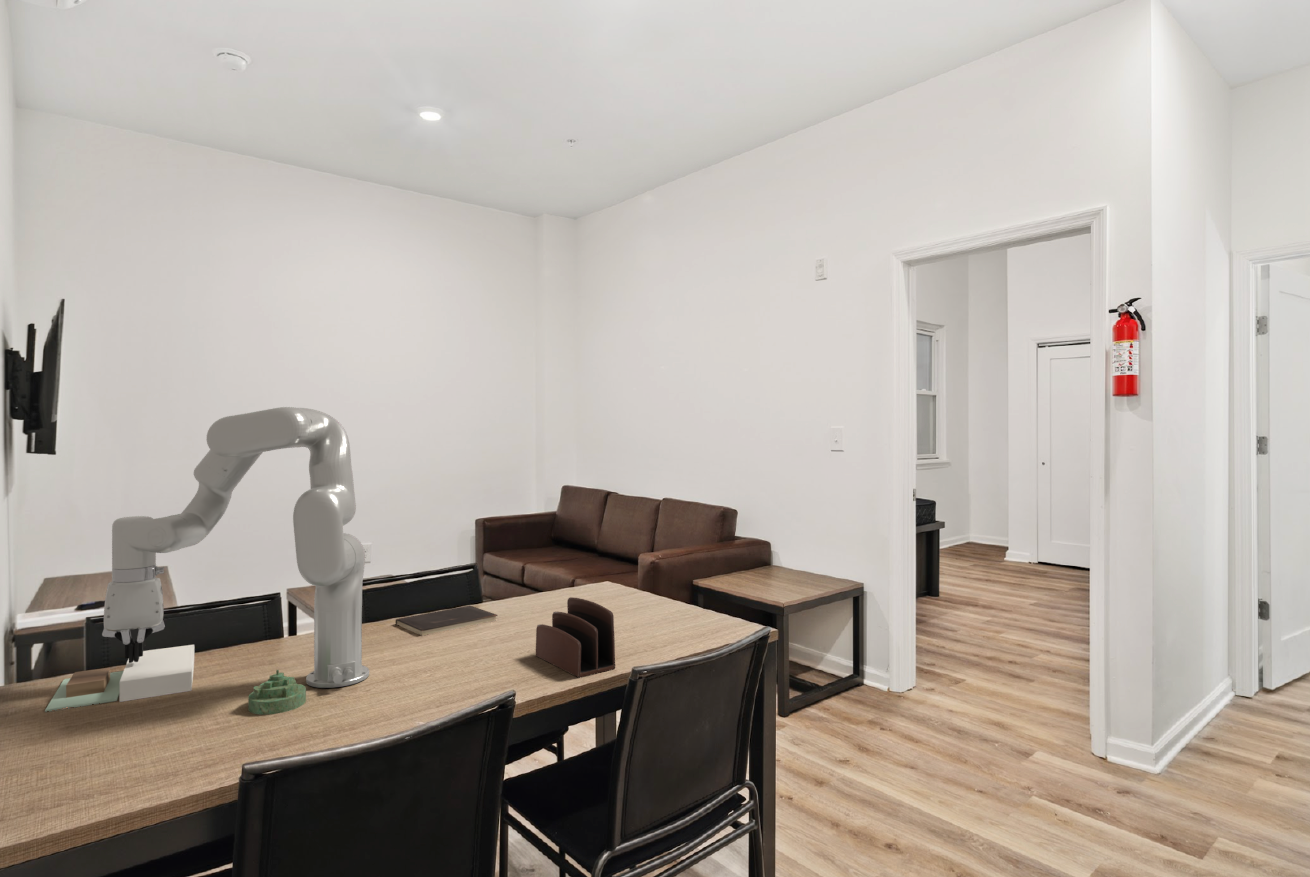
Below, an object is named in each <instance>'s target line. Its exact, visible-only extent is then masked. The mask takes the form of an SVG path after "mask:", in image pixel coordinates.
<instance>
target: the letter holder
mask: <svg viewBox="0 0 1310 877" xmlns="http://www.w3.org/2000/svg"><path fill="white" fill-rule="evenodd" d="M566 603H567V608H566V609H567V612H563V611H553V613H552V615H551V617H552V618H551V623H552V624H551V625H547V624H543V623H542V624H537V626H536V627H535V628H536V629H535V634H536V635H535V656H536V657H538V658H540V659H541V660H543V661H545V662H547V663H549V664H551V665H553V666H555V667H557V668H559V669H561V670H563V671H565V672H567V673H569V674H571V675H573V676H575V677H576V678H578V677H579V678H578V679H580V677H581V678H584V677H589V676H593V675H598V674H600V673H605V672H609V671H612V670H615V669H616V647H615V646H616V645H615V641H616V640H615V622H614V621H615V619H614V613H613V612H612V611H611V610H609V609H608V608H606V607H604V606H602V605H601V604H599V603H597V602H595V601H591V600H588V599H584V598H580V597H571V596H570V597H568V598H567V602H566Z"/></svg>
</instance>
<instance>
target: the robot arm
mask: <svg viewBox="0 0 1310 877" xmlns="http://www.w3.org/2000/svg"><path fill="white" fill-rule="evenodd" d="M206 444H207V447H208V448H209V451H208V452H207V453H206V454H205V455H204V457H203V458H202V459H201V461H200V462H199V463H198V464H197V465H196V467H195V468H194V469H193V477H194V479H195V480H196V481H197V483H198V488H197V491H196V493H195V494H194V497H193V498H192V499H191V501H190V502H189V503H187V505H186V507H185V508H184V509H183V511H181V513H177V514H172V515H167V516H163V517H158V518H153V517H151V516H146V515H144V516H143V515H140V516H139V515H136V516H123V517H119V518H117V519H114V521H113V523H112V524H111V525H112V526H111V581H110V582H108V583H107V586H106V592H105V598H104V607H103V608H104V609H103V630H102V633H101V636H102V637H105V638H107V637H108V638H116V639H117V640H118V641H121V643H122V644H123V645H124V658H125V659H129V663H132V662H133V661H134V662H138V661H139V657H141V656H143V651H144V641H145V640H147V639H148V637H149V636H151V635H152V634H153V633H154V634H155V633H157V632H160V631H163V630H164V629H165V627H166V626H165V622H164V620H163V619H164V610H165V608H164V595H163V585H162V582H161V581H162V580H161V578H160V577H157V576H158V575H160V574H164V572H165V568H164V566H163V567H162V566H161V567H160V566H158V565H157V564H156V563H157V562H156V560H157V554H166V553H173V552H175V551H180V550H182V549H186V548H189V547H192V546H195V545H197V544H199V543H201V542H202V541H204V539H205V538H206V537H208V535H209V534H210V533H211V532H212V530H213V529H214V528H215V527H216V525H218V523H219V521H220V520H221V519H222V518H223V517H224V515H225V512H226V511H227V508H228V507H229V504H230V501H231V498H232V494H233V491H234V490H235V489H236V487H237V486H238V484H239V483H240V482H241V481H242V479H243V478H244V476H246V475H247V473H248V471H249V470H250V469H251V468H252V466H253V465H254V464H255V463H256V462H257V460H258V459H259V458H260V456H261V455H262V454H263V453H265V452H270V451H275V450H276V451H278V450H283V449H290V448H291V449H293V448H306V449H309V452H310V455H309V462H308V471H309V474H308V475H309V480H310V481H309V482H310V486H309V487H310V489H308V490H306V491H304V492H303V493H302V494H301V495H300V496H299V497H298V499H297V501H296V502H295V504H294V508H293V513H292V514H293V515H292V523H293V533H294V536H293V537H294V545H295V546H294V547H295V557H296V558H295V559H296V564H297V569H298V571H299V572H298V573H299V574H300V576H301V577H302V579H303V580H304V581H305V582H307V583H308V584H310V585H311V586H314V587H315V588H314V600H313V601H314V602H313V604H314V605H313V607H314V608H313V609H314V610H313V616H314V617H313V622H314V623H313V624H314V626H313V629H314V631H313V632H314V633H313V638H314V640H313V642H314V644H313V648H314V649H313V656H314V657H313V659H314V660H313V661H314V662H313V663H314V664H313V671H311V672H309V673H308V674H307V675H306V677H305V683H306V684H307V685H308V686H310V687H313V688H318V689H319V688H321V689H332V688H333V689H334V688H340V687H346V686H351V685H354V684H358V683H360V682H362V681H364V680H366V679H367V678H368V677H369V675H370V668H369V667H368V666H365V665H363V662H362V660H363V657H362V656H363V653H362V652H363V650H362V649H363V645H362V642H363V640H362V639H363V638H362V636H363V632H362V631H363V629H362V627H363V624H362V622H363V618H362V617H363V607H362V606H363V580H364V572H365V565H366V564H365V563H366V553H365V549H364V546H363V544H362V542H361V540H359V539H358V538H357V537H356V536H354V535H352V534H350V533H346V532H345V533H344V526H345V525H347V524H349V523H350V522H351V521H352V519H353V518H354V516H355V514H356V511H357V503H356V494H355V486H354V475H353V469H352V468H353V467H352V456H351V447H350V441H349V437H348V434H347V431H346V429H345V427H344V426H343V425H342V424H341V423H340V421H338V420H337V419H336V418H335V417H333V416H331V415H329V414H328V413H325V412H323V411H320V410H317V409H312V408H305V407H292V406H291V407H290V406H283V407H273V408H267V409H263V410H258V411H252V412H247V413H246V412H245V413H241V414H234V415H233V414H232V415H227V416H224V417H221V418H219V419H217V420H216V421H214V422H213V423H212V424H211V425H210V426H209V429H208V430H207V433H206ZM137 629H138V633H137V636H136V638H135V640H134V639H133V637H132V633H131V630H137Z"/></svg>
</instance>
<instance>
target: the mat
mask: <svg viewBox="0 0 1310 877" xmlns="http://www.w3.org/2000/svg"><path fill="white" fill-rule="evenodd" d="M123 672H124V670H121V671H120V670H119V671H114V672H113V671H112V672H110V680H109V683H108V685H107V687H106V689H105V691H104V692H102V693H95V694H89V695H82V696H75V697H68V698H66V685H67V683H68V682H69V680H70V679H71V677H70V678H64V679H63V680H62V682H61V683H60V685H59V686H58V689H57V690H56V692H55V693H54V695H53V696H52V698H51V700H50V701H49V702H48V705H47V707H46V708H45V709H44V712H45V713H48V712H47V711H49V712H53V711H52V710H55V711H58V710H57V709H62V708H66V707H68V709H70V708H69V707H74V708H79V707H80V706H81V707H86V706H93V705H92V704H94V705H99V703H100V704H106V703H111V702H113V703H114V702H117V701H118V700H119V698H120V679H121V677H122V674H123ZM62 710H63V709H62Z"/></svg>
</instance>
